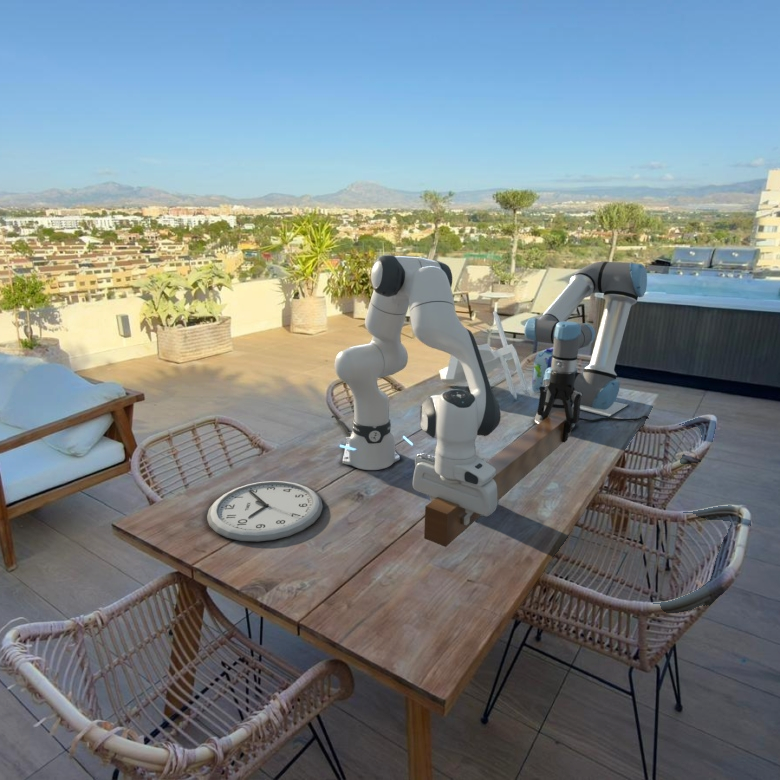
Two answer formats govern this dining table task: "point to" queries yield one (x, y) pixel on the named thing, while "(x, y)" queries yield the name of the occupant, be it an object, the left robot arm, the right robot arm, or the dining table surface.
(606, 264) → the right robot arm
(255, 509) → the wall clock
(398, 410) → the dining table surface
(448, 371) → the white plastic object
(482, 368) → the left robot arm
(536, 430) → the post
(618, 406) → the invitation card
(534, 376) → the lunch box
